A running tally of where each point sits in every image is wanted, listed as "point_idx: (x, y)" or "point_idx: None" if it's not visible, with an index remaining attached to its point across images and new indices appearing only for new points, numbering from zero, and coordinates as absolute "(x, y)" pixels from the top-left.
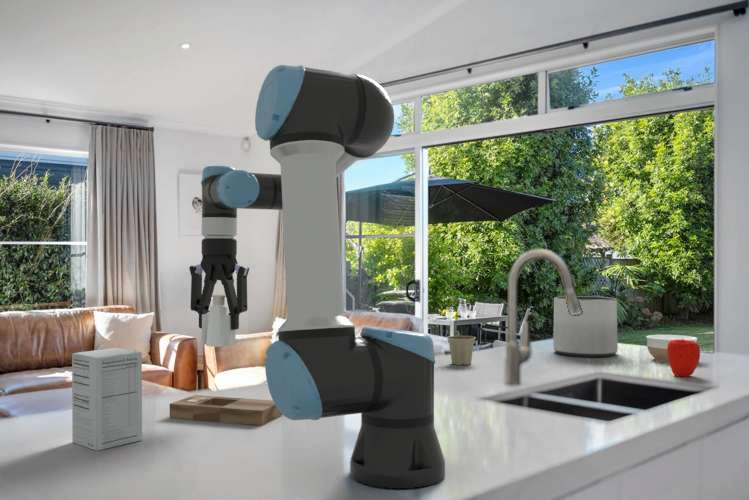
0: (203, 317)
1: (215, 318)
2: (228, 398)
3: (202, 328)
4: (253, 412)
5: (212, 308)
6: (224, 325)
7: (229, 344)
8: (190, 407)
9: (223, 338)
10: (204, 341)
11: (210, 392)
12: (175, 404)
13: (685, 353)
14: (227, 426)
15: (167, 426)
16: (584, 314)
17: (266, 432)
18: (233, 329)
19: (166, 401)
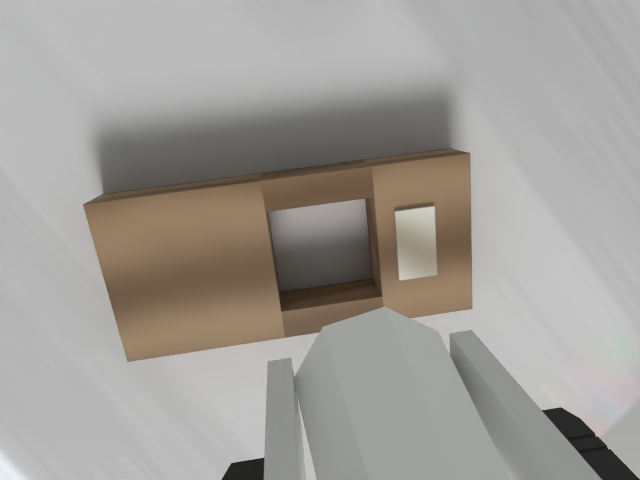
0: (572, 470)
1: (413, 474)
2: (330, 314)
3: (522, 396)
4: (122, 198)
5: None
6: (329, 468)
7: (268, 369)
8: (380, 163)
9: (315, 382)
10: (458, 343)
11: None
12: (445, 157)
13: None
14: (200, 136)
15: (383, 47)
16: None
17: (24, 123)
18: (243, 462)
19: (591, 323)
